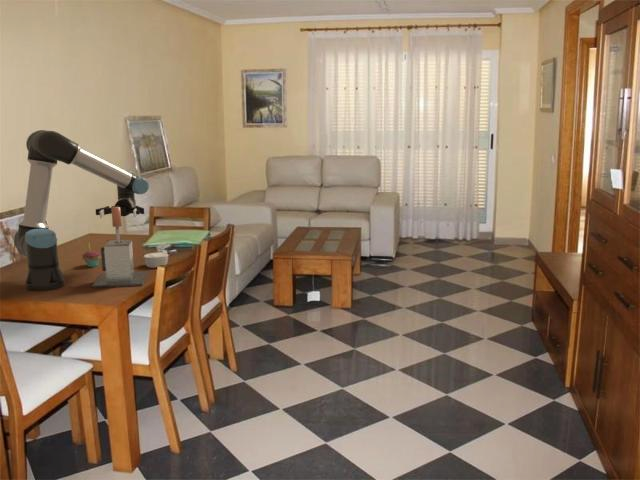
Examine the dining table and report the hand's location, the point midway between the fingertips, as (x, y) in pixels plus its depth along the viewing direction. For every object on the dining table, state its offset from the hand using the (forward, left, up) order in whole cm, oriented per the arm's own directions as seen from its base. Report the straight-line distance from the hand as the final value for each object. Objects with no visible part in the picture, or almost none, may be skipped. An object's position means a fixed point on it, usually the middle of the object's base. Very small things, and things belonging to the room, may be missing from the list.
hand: (117, 214), depth 257 cm
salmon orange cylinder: (-1, 0, -21) cm, 21 cm away
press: (-1, 0, -29) cm, 29 cm away
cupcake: (-18, +30, -29) cm, 46 cm away
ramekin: (+12, +25, -29) cm, 41 cm away
